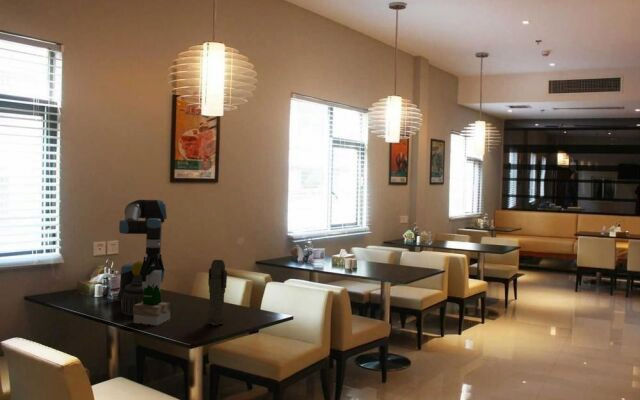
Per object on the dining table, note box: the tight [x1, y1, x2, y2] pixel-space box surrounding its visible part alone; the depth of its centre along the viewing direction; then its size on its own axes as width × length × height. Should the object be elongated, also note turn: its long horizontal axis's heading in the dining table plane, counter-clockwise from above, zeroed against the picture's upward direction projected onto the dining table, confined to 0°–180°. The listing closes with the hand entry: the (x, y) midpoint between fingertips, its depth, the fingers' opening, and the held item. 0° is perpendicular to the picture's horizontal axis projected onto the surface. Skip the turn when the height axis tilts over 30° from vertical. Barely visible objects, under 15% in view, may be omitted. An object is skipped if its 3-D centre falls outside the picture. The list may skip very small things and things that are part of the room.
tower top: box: [133, 301, 171, 317], centre depth 319 cm, size 14×14×5 cm
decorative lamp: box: [120, 260, 143, 317], centre depth 336 cm, size 19×19×30 cm
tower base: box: [133, 311, 171, 326], centre depth 319 cm, size 14×14×5 cm
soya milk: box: [143, 267, 162, 304], centre depth 319 cm, size 9×9×20 cm
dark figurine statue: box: [207, 259, 228, 324], centre depth 319 cm, size 9×12×35 cm
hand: (151, 285), depth 318 cm, fingers open, 13 cm apart
